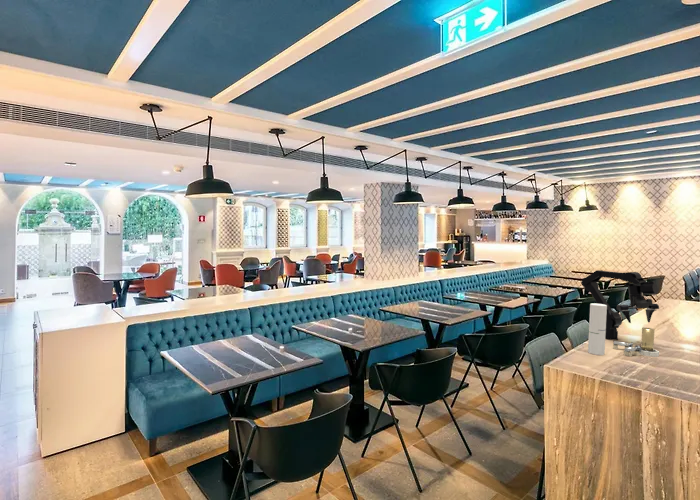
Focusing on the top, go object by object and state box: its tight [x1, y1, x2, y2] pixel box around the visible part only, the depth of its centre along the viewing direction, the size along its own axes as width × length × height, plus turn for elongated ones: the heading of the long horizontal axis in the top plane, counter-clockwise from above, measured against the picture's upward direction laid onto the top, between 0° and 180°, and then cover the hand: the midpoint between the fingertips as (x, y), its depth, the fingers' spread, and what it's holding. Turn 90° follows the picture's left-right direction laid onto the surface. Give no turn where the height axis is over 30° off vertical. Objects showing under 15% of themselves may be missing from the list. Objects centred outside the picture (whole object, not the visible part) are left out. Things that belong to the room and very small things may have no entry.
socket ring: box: [639, 348, 660, 358], centre depth 197 cm, size 10×10×2 cm
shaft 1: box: [612, 340, 634, 350], centre depth 204 cm, size 8×3×5 cm, turn 52°
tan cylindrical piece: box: [640, 326, 655, 352], centre depth 197 cm, size 6×6×13 cm
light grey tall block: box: [587, 302, 607, 356], centre depth 196 cm, size 7×7×25 cm
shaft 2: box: [623, 345, 642, 357], centre depth 194 cm, size 8×3×5 cm, turn 107°
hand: (639, 322), depth 213 cm, fingers open, 9 cm apart
